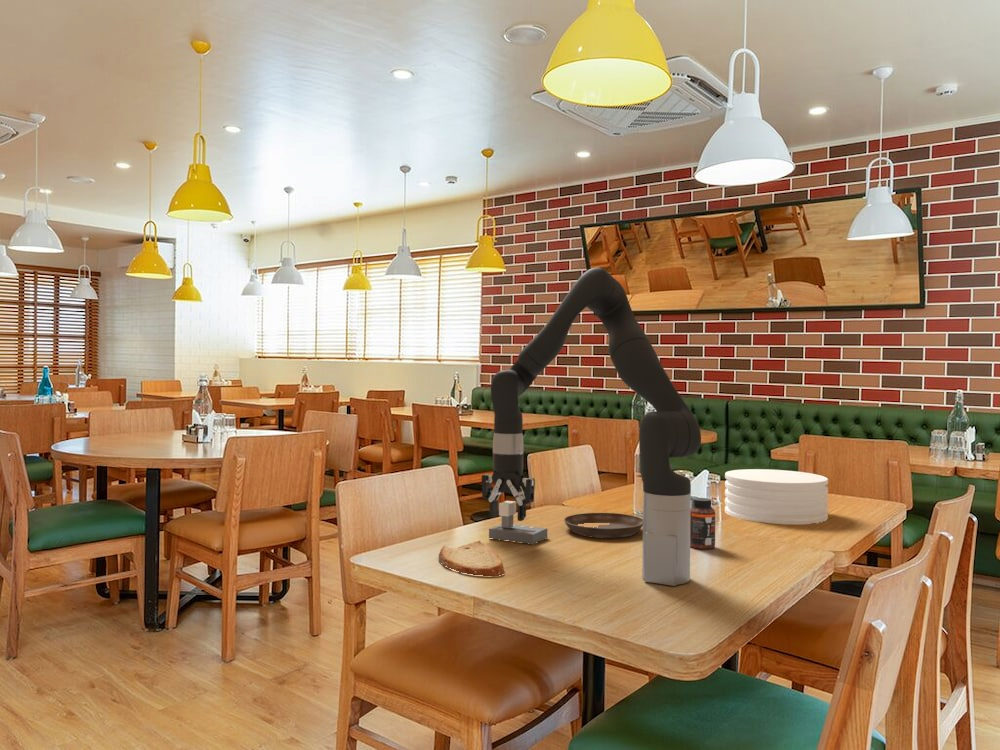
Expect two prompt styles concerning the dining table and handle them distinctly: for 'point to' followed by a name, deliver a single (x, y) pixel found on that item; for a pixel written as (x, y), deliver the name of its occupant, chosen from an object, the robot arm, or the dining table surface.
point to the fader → (507, 513)
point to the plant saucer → (617, 528)
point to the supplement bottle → (702, 524)
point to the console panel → (518, 533)
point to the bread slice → (472, 559)
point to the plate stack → (776, 496)
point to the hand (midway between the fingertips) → (507, 518)
